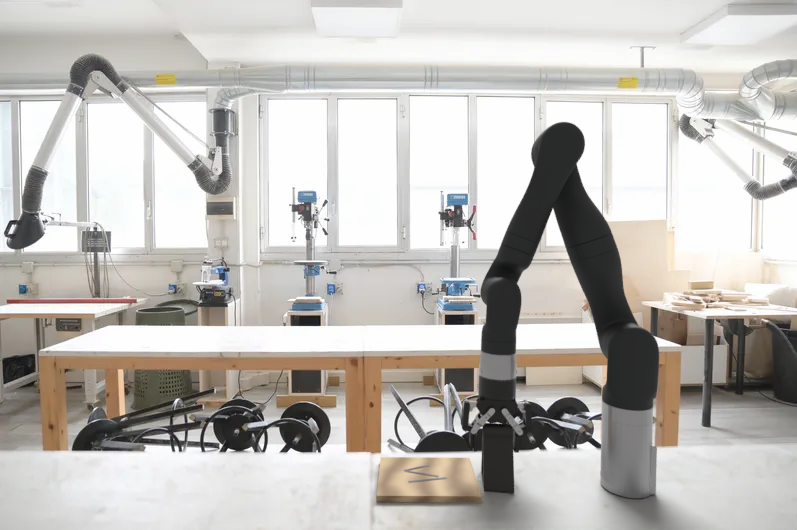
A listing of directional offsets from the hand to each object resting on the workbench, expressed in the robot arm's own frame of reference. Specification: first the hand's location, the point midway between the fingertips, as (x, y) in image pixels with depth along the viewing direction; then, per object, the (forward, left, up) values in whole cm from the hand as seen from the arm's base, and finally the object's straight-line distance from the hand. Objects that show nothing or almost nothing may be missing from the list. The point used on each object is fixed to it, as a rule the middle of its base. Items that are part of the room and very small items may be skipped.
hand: (495, 450), depth 95 cm
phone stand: (0, 0, -7) cm, 7 cm away
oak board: (+14, 0, -6) cm, 15 cm away
